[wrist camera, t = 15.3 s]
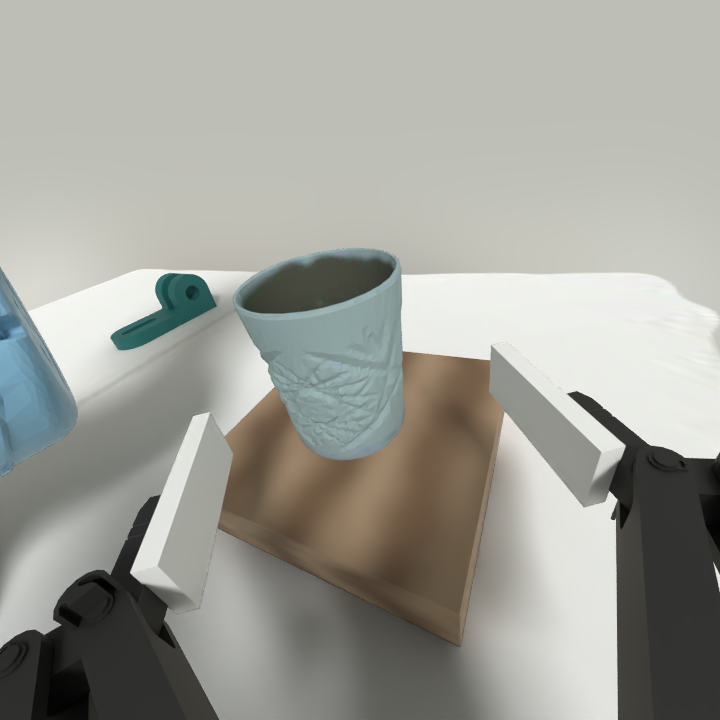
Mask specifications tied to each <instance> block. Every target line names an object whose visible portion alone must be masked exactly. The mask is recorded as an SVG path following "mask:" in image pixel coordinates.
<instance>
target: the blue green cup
mask: <svg viewBox="0 0 720 720" xmlns="http://www.w3.org/2000/svg"><path fill="white" fill-rule="evenodd" d="M233 303H234V307H235V309H236V311H237V313H238V315H239V317H240V319H241V320H242V322H243V324H244V326H245V328H246V330H247V331H248V333H249V335H250V337H251V339H252V341H253V343H254V344H255V345H256V347H257V348H258V349H259V350H260V354H261V357H262V359H264V360H265V361H266V362H267V363H268V365H269V368H268V372H269V374H270V376H271V380H272V382H273V384H274V386H275V388H276V389H277V390H278V393H279V396H280V398H281V400H282V402H283V403H284V404H285V405H286V409H287V411H288V414H289V416H290V418H291V420H292V423H293V425H294V427H295V429H296V431H297V433H298V435H299V437H300V439H301V441H302V442H303V443H304V445H305V446H306V447H307V448H308V449H310V450H311V451H312V452H313V453H315V454H317V455H318V456H321V457H324V458H327V459H331V460H353V459H358V458H363V457H366V456H369V455H371V454H373V453H375V452H378V451H380V450H381V449H383V448H384V447H386V446H387V445H388V444H389V443H391V442H392V440H393V439H394V438H395V437H396V436H397V435H398V433H399V431H400V430H401V427H402V425H403V421H404V417H405V402H404V390H403V371H402V360H403V357H402V332H401V305H402V288H401V266H400V262H399V259H397V258H396V257H395V256H394V255H392V254H390V253H389V252H386V251H382V250H376V249H365V248H348V249H337V250H330V251H324V252H318V253H313V254H309V255H305V256H300V257H296V258H293V259H290V260H287V261H284V262H281V263H278V264H276V265H273V266H271V267H269V268H267V269H265V270H263V271H261V272H259V273H257V274H255V275H254V276H252V277H251V278H250V279H249V280H247V281H246V282H245V283H244V284H242V285H241V286H240V287H239V288H238V289H237V290H236V292H235V294H234V296H233Z"/></svg>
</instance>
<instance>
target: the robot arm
mask: <svg viewBox="0 0 720 720" xmlns="http://www.w3.org/2000/svg"><path fill="white" fill-rule="evenodd" d="M489 392H490V393H491V394H492V396H493V397H494V398H495V399H496V401H497V402H498V403H499V404H500V405H501V407H502V408H503V409H504V410H505V412H506V413H507V414H508V415H509V416H510V418H511V419H512V420H513V421H514V423H515V424H516V425H517V426H518V427H519V429H520V430H521V431H522V432H523V434H524V435H525V436H526V437H527V438H528V440H529V441H530V442H531V443H532V445H533V446H534V447H535V448H536V449H537V451H538V452H539V453H540V454H541V456H542V457H543V458H544V459H545V460H546V462H547V463H548V464H549V465H550V467H551V468H552V469H553V470H554V471H555V473H556V474H557V475H558V476H559V478H560V479H561V480H562V481H563V482H564V484H565V485H566V486H567V487H568V489H569V490H570V491H571V492H572V493H573V495H574V496H575V497H576V498H577V500H578V501H579V502H580V503H581V504H582V506H583V507H587V506H591V505H595V504H598V503H602V502H605V501H606V498H607V495H608V493H609V491H610V492H611V493H612V494H613V495H614V496H615V497H616V498H617V499H618V501H617V503H616V506H615V508H614V511H613V513H612V516H611V519H612V520H615V518H616V563H617V667H618V720H720V591H719V587H718V582H717V577H716V573H715V568H714V564H715V566H716V568H717V570H718V572H719V574H720V453H719V454H718V456H717V458H716V459H700V458H684V457H683V456H681V455H680V454H678V453H676V452H674V451H672V450H669V449H666V448H663V447H657V446H650V445H649V444H647V443H646V442H645V441H644V440H642V439H641V438H640V437H639V436H637V435H636V434H635V433H634V432H633V431H631V430H630V429H629V428H628V427H626V426H625V425H624V424H623V423H622V422H620V421H619V420H618V419H617V418H615V417H613V416H612V414H611V413H609V412H608V411H607V410H606V409H603V407H602V406H601V405H600V404H598V403H597V402H596V401H595V400H593V399H592V398H590V397H588V396H586V395H584V394H582V393H580V392H577V391H576V392H572V393H568V394H566V393H565V392H564V391H563V390H562V389H561V388H559V387H558V386H557V385H556V384H555V383H554V382H553V381H551V380H550V379H549V378H548V377H547V376H546V375H545V374H543V373H542V372H541V371H540V370H539V369H538V368H537V367H535V366H534V365H533V364H532V363H531V362H530V361H529V360H528V359H526V358H525V357H524V356H523V355H522V354H521V353H520V352H518V351H517V350H516V349H515V348H514V347H513V346H512V345H510V344H509V343H508V342H502V343H498V344H494V345H491V360H490V382H489ZM77 415H78V411H77V405H76V402H75V399H74V397H73V395H72V392H71V390H70V388H69V386H68V384H67V382H66V380H65V378H64V376H63V374H62V372H61V371H60V369H59V367H58V365H57V363H56V361H55V359H54V358H53V356H52V354H51V352H50V350H49V349H48V347H47V345H46V343H45V341H44V340H43V338H42V336H41V334H40V333H39V331H38V329H37V327H36V326H35V324H34V322H33V321H32V319H31V317H30V315H29V314H28V312H27V310H26V309H25V307H24V305H23V304H22V302H21V300H20V299H19V297H18V296H17V294H16V292H15V290H14V288H13V287H12V285H11V284H10V282H9V280H8V279H7V277H6V276H5V274H4V272H3V271H2V270H1V268H0V477H2V476H4V475H7V474H8V473H9V472H10V471H12V469H13V467H14V466H16V465H18V464H19V463H21V462H23V461H25V460H26V459H28V458H30V457H32V456H33V455H35V454H37V453H39V452H41V451H42V450H44V449H46V448H48V447H49V446H51V445H53V444H55V443H56V442H58V441H60V440H61V439H63V438H64V437H65V436H66V435H67V434H69V432H70V431H71V430H72V428H73V427H74V425H75V423H76V419H77ZM232 458H233V452H232V450H231V449H230V447H229V445H228V443H227V441H226V440H225V438H224V436H223V434H222V432H221V431H220V429H219V427H218V425H217V423H216V422H215V420H214V418H213V416H212V414H211V413H210V412H208V413H204V414H200V415H196V416H193V418H192V420H191V423H190V425H189V428H188V430H187V433H186V435H185V438H184V440H183V442H182V445H181V447H180V450H179V452H178V455H177V457H176V460H175V462H174V465H173V467H172V470H171V472H170V475H169V477H168V480H167V482H166V485H165V487H164V490H163V492H162V494H161V495H158V496H154V497H150V498H149V499H148V501H147V502H146V503H145V504H144V506H143V507H142V508H141V509H140V511H139V512H138V515H137V517H136V519H135V521H134V524H133V528H131V530H130V533H129V535H128V540H126V541H125V544H124V546H123V548H122V550H121V553H120V555H119V557H118V559H117V562H116V564H115V566H114V568H113V570H112V573H111V575H109V574H108V573H107V572H105V571H104V570H95V571H92V572H89V573H87V574H85V575H84V576H82V577H80V578H79V579H77V580H76V581H75V582H74V583H73V584H72V585H71V586H70V587H69V588H67V589H66V591H65V592H64V593H63V595H62V596H61V597H60V599H59V600H58V602H57V605H56V607H55V609H54V615H53V620H55V621H56V622H58V623H60V624H61V626H59V627H58V628H56V629H54V630H52V631H51V632H49V633H47V634H45V635H44V634H42V633H40V632H38V631H36V630H28V631H25V632H23V633H21V634H19V635H17V636H15V637H14V638H12V639H11V640H10V641H9V642H7V643H6V644H5V645H4V646H3V647H2V648H1V649H0V720H219V718H218V716H217V715H216V713H215V711H214V709H213V707H212V705H211V703H210V702H209V700H208V698H207V696H206V694H205V692H204V690H203V689H202V687H201V685H200V683H199V681H198V679H197V677H196V676H195V674H194V672H193V670H192V668H191V666H190V664H189V663H188V661H187V659H186V657H185V655H184V653H183V651H182V650H181V648H180V646H179V644H178V642H177V640H176V638H175V636H174V635H173V633H172V631H171V629H170V627H169V625H168V624H167V623H166V622H165V621H164V618H165V614H166V611H167V607H168V608H170V609H171V610H172V611H173V612H174V613H175V614H180V613H184V612H188V611H191V610H195V609H199V608H200V605H201V601H202V596H203V592H204V587H205V582H206V578H207V573H208V569H209V564H210V559H211V555H212V550H213V545H214V541H215V536H216V532H217V527H218V522H219V518H220V513H221V509H222V504H223V499H224V495H225V490H226V486H227V481H228V476H229V472H230V467H231V462H232ZM713 562H714V564H713Z"/></svg>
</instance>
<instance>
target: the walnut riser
mask: <svg viewBox="0 0 720 720" xmlns="http://www.w3.org/2000/svg"><path fill="white" fill-rule="evenodd" d="M402 357H403V360H402V371H403V390H404V402H405V417H404V421H403V425H402V427H401V430H400V431H399V433H398V435H397V436H396V437H395V438H394V439H393V440H392V442H391V443H389V444H388V445H387V446H386V447H384V448H383V449H381V450H380V451H378V452H375V453H373V454H371V455H369V456H366V457H363V458H358V459H353V460H331V459H327V458H324V457H321V456H318V455H317V454H315V453H313V452H312V451H311V450H310V449H308V448H307V447H306V446H305V445H304V443H303V442H302V441H301V439H300V437H299V435H298V433H297V431H296V429H295V427H294V425H293V423H292V420H291V418H290V416H289V414H288V411H287V409H286V405H285V404H284V403H283V402H282V400H281V398H280V396H279V393H278V390H277V389H276V388H275V387H274V388H273V389H272V390H271V391H270V392H269V393H268V394H267V395H266V396H265V397H264V398H263V399H262V400H261V401H260V402H259V403H258V404H257V405H256V406H255V407H254V408H253V409H252V410H251V411H250V412H249V413H248V414H247V415H246V416H245V417H244V418H243V419H242V420H241V421H240V422H239V423H238V424H237V425H236V426H235V427H234V428H233V429H232V430H231V431H230V432H229V433H228V434H227V435H226V436H225V437H224V438H225V440H226V441H227V443H228V445H229V447H230V449H231V450H232V452H233V458H232V462H231V467H230V472H229V476H228V481H227V486H226V490H225V495H224V499H223V504H222V509H221V513H220V518H219V522H218V527H217V528H218V529H221V530H223V531H225V532H227V533H229V534H231V535H233V536H235V537H237V538H239V539H241V540H243V541H245V542H247V543H249V544H251V545H253V546H255V547H257V548H259V549H261V550H263V551H265V552H267V553H270V554H272V555H274V556H276V557H278V558H280V559H282V560H284V561H286V562H288V563H290V564H292V565H294V566H296V567H298V568H300V569H302V570H304V571H306V572H308V573H310V574H312V575H314V576H316V577H319V578H321V579H323V580H325V581H327V582H329V583H331V584H333V585H335V586H337V587H339V588H341V589H343V590H345V591H347V592H349V593H351V594H353V595H355V596H357V597H359V598H361V599H363V600H365V601H367V602H370V603H372V604H374V605H376V606H378V607H380V608H382V609H384V610H386V611H388V612H390V613H392V614H394V615H396V616H398V617H400V618H402V619H404V620H406V621H408V622H410V623H412V624H414V625H416V626H419V627H421V628H423V629H425V630H427V631H429V632H431V633H433V634H435V635H437V636H439V637H441V638H443V639H445V640H447V641H449V642H451V643H453V644H455V645H457V646H459V647H460V646H461V641H462V636H463V630H464V625H465V620H466V614H467V609H468V604H469V598H470V593H471V588H472V582H473V577H474V572H475V566H476V561H477V556H478V550H479V545H480V540H481V534H482V529H483V524H484V518H485V513H486V508H487V502H488V497H489V491H490V486H491V481H492V475H493V470H494V465H495V459H496V454H497V449H498V443H499V438H500V433H501V427H502V422H503V417H504V411H505V410H504V409H503V408H502V407H501V405H500V404H499V403H498V402H497V401H496V399H495V398H494V397H493V396H492V394H491V393H490V392H489V382H490V361H489V360H480V359H470V358H461V357H451V356H442V355H432V354H423V353H413V352H403V351H402Z"/></svg>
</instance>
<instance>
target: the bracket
mask: <svg viewBox="0 0 720 720" xmlns="http://www.w3.org/2000/svg"><path fill="white" fill-rule="evenodd" d="M155 291H156V295H157V298H158V300H159V301H160V303H161V305H162V309H161V310H159V311H157V312H155V313H153V314H151V315H149V316H147V317H144V318H142V319H140V320H138V321H136V322H134V323H132V324H130V325H128V326H125V327H123V328H121V329H119V330H118V331H116V332H115V333H113V334H112V335H111V340H112V341H113V343H114V344H115V346H116V347H117V349H119V350H129V349H133V348H136V347H139V346H142V345H144V344H146V343H148V342H150V341H152V340H154V339H156V338H157V337H159V336H161V335H163V334H165V333H167V332H169V331H171V330H173V329H174V328H176V327H178V326H180V325H182V324H184V323H186V322H188V321H190V320H191V319H193V318H195V317H197V316H199V315H201V314H203V313H205V312H206V311H208V310H210V309H212V308H214V307H216V304H215V302H214V299H213V297H212V295H211V293H210V290H209V288H208V286H207V284H206V282H205V281H204V280H203V279H202V278H201V277H199V276H197V275H193V274H176V273H168V274H165V275H163V276H161V277H160V278H159V279H158V281H157V283H156V287H155Z"/></svg>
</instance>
